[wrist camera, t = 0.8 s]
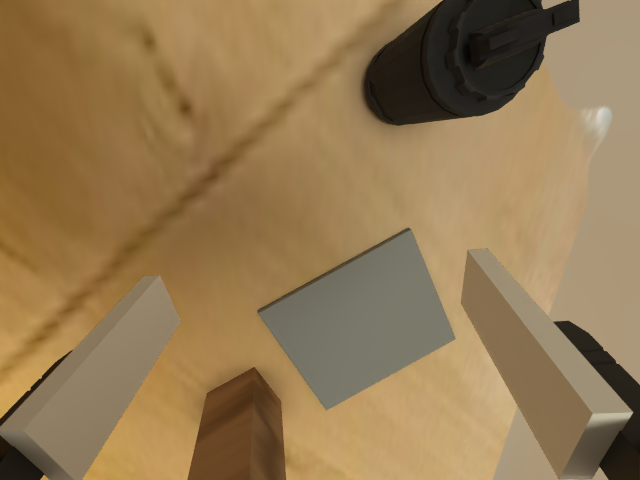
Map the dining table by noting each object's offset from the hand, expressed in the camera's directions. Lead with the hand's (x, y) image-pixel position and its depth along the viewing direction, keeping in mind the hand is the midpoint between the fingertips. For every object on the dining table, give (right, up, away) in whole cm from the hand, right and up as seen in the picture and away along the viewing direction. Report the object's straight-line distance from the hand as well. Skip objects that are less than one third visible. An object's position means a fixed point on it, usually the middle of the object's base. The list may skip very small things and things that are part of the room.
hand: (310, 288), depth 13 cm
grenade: (+7, +16, +14) cm, 23 cm away
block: (-8, -16, +21) cm, 28 cm away
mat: (+5, -7, +21) cm, 23 cm away
